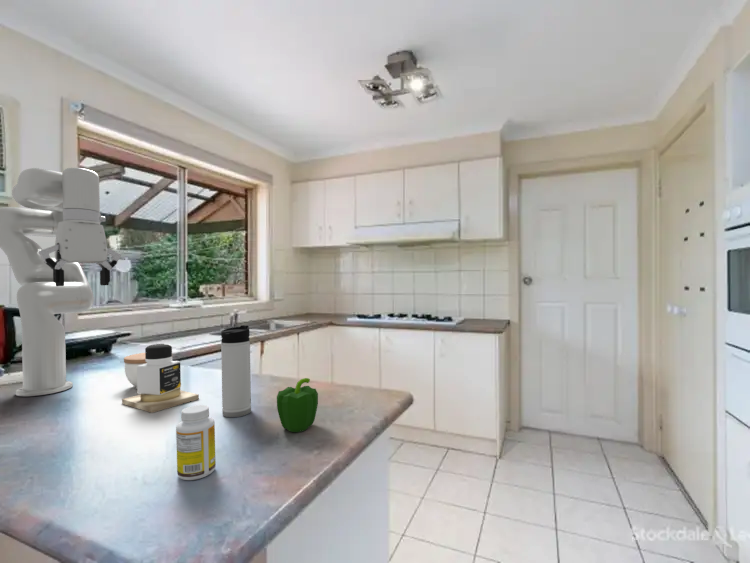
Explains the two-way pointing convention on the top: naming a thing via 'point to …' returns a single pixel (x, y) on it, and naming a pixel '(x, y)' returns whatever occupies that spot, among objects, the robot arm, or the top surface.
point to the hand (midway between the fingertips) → (83, 285)
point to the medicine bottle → (158, 371)
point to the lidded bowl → (134, 366)
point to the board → (159, 404)
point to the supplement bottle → (195, 443)
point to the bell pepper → (297, 406)
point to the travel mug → (236, 371)
